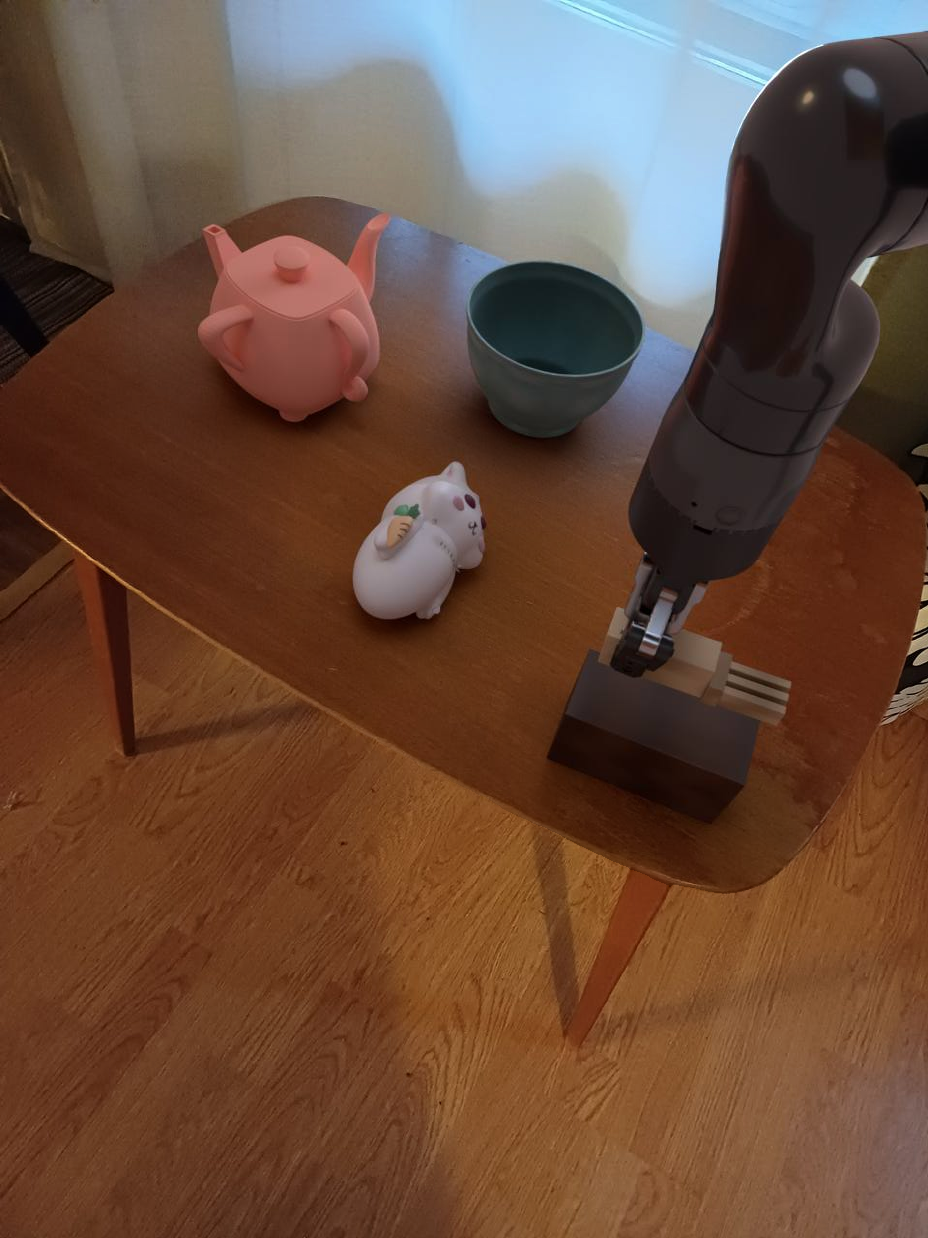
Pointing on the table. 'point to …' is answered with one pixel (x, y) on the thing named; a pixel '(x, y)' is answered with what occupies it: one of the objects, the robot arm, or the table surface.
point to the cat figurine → (420, 547)
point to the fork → (711, 675)
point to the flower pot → (550, 343)
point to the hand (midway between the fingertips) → (631, 651)
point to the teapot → (294, 319)
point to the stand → (654, 741)
